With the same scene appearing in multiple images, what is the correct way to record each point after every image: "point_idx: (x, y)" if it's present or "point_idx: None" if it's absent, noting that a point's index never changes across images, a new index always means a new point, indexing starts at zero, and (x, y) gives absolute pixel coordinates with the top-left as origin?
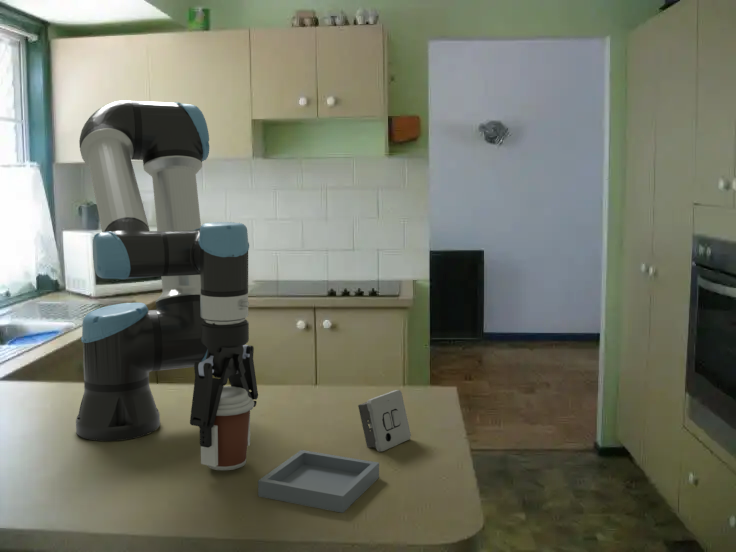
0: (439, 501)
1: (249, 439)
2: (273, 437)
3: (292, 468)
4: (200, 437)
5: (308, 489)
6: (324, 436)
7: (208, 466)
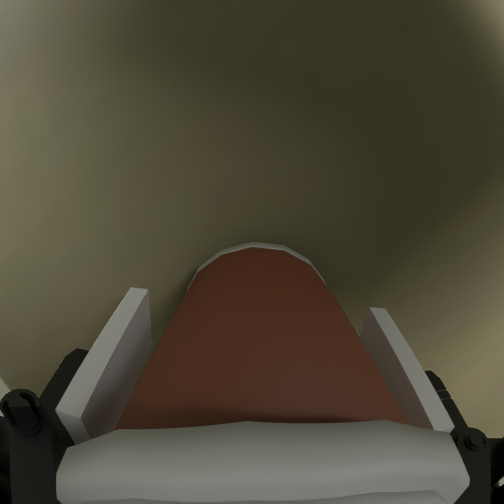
0: None
1: None
2: (499, 299)
3: None
4: (54, 379)
5: None
6: (485, 384)
7: (197, 270)
